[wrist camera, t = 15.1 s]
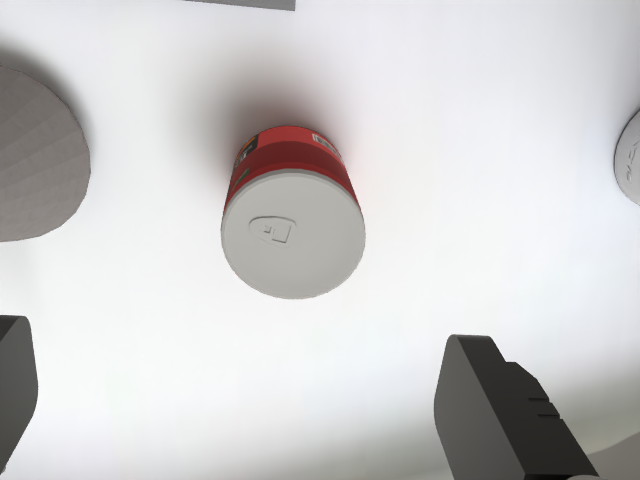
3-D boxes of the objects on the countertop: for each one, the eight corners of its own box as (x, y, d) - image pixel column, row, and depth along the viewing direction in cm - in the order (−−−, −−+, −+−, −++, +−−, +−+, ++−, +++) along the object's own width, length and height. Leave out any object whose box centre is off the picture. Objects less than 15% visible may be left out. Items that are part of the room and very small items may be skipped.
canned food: (232, 121, 39) (217, 170, 29) (348, 123, 40) (372, 173, 30) (234, 224, 43) (221, 301, 33) (342, 225, 43) (362, 301, 33)
